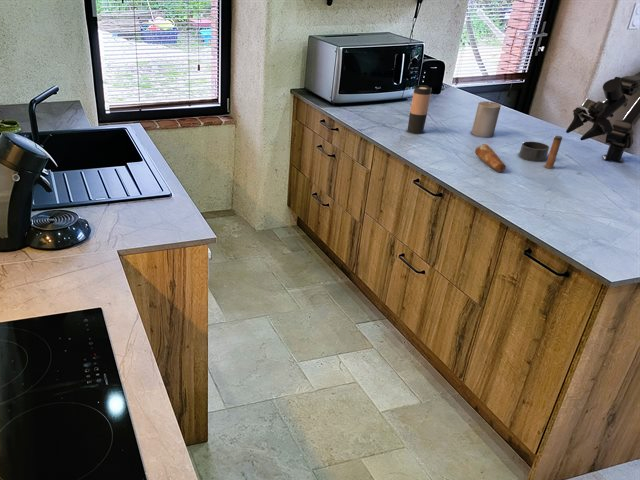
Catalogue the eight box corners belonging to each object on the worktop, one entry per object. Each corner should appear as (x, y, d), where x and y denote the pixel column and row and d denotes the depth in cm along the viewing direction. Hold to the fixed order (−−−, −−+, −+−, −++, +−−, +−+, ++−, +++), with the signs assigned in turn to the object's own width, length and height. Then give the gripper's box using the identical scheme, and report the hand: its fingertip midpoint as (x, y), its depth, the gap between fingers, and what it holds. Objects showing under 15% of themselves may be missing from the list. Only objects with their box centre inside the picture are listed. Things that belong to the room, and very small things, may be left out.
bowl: (519, 151, 254) (522, 140, 251) (545, 155, 250) (549, 143, 248) (518, 159, 246) (521, 147, 243) (545, 163, 242) (549, 151, 240)
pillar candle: (482, 130, 279) (490, 97, 271) (498, 136, 272) (506, 102, 263) (466, 132, 275) (474, 99, 267) (482, 138, 268) (490, 105, 260)
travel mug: (405, 132, 273) (413, 88, 263) (408, 128, 279) (415, 84, 268) (422, 134, 271) (430, 90, 260) (424, 130, 277) (433, 86, 266)
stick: (545, 165, 240) (554, 135, 233) (552, 166, 239) (562, 136, 232) (545, 167, 238) (554, 137, 231) (552, 168, 237) (562, 138, 230)
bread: (487, 156, 248) (490, 143, 245) (506, 173, 232) (510, 159, 229) (472, 156, 247) (475, 143, 244) (491, 173, 231) (494, 159, 228)
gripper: (585, 86, 231) (550, 115, 236) (617, 98, 216) (579, 129, 220) (596, 106, 237) (562, 134, 241) (628, 119, 221) (591, 149, 226)
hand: (573, 135), depth 232 cm, fingers open, 9 cm apart
